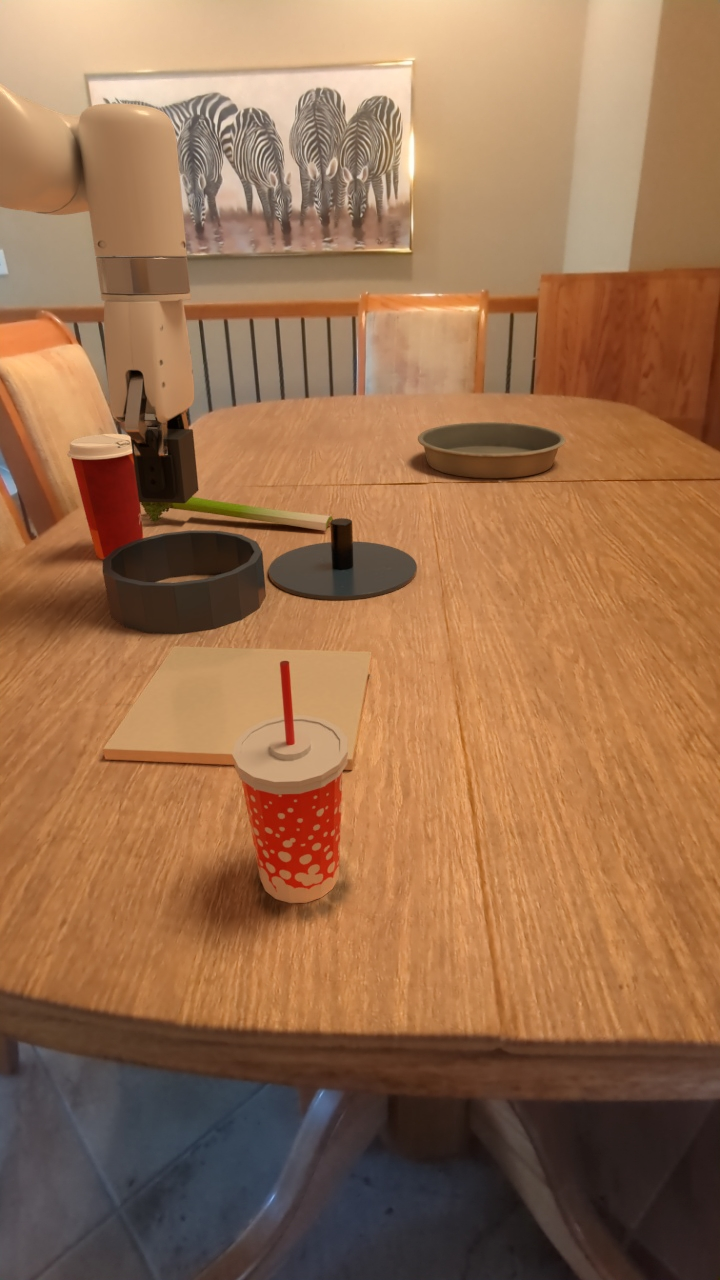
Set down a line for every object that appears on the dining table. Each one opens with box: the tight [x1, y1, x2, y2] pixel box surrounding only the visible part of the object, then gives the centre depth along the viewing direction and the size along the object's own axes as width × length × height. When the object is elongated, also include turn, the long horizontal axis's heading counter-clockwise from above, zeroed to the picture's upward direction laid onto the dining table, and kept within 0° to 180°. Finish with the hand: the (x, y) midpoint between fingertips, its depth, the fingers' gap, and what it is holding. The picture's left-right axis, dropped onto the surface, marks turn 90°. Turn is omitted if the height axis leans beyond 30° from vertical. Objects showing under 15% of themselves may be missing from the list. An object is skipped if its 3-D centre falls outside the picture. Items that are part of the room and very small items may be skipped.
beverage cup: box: [232, 661, 348, 904], centre depth 41 cm, size 6×6×14 cm
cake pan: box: [417, 421, 566, 479], centre depth 128 cm, size 25×25×4 cm
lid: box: [268, 517, 418, 601], centre depth 84 cm, size 17×17×6 cm
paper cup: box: [66, 433, 144, 560], centre depth 89 cm, size 8×8×14 cm
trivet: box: [102, 645, 373, 771], centre depth 60 cm, size 18×16×1 cm
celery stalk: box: [140, 496, 334, 532], centre depth 101 cm, size 6×7×30 cm
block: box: [131, 427, 200, 503], centre depth 72 cm, size 4×4×6 cm
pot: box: [102, 529, 267, 635], centre depth 77 cm, size 16×16×6 cm
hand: (168, 488), depth 73 cm, fingers closed on block, 4 cm apart
